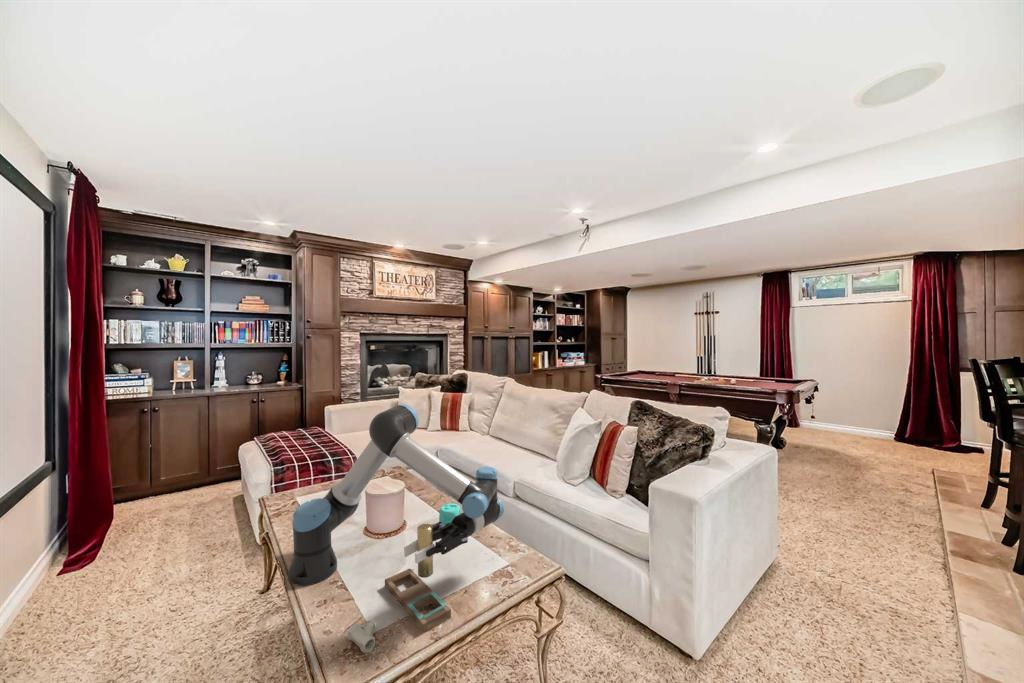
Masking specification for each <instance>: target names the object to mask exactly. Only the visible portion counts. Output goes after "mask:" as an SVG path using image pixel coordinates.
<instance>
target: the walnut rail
mask: <svg viewBox="0 0 1024 683" xmlns="http://www.w3.org/2000/svg"><path fill="white" fill-rule="evenodd" d="M409 582H411V583H412V584H413V586H410V587H408V588H406V589H403V590H402V591H401V590H400V589H399V588H398V587H400V586H402V585H404V584H407V583H409ZM384 588H385V589H386V590H387V591H388V592H389V594H390V595H391V596H392V597H393V598H394V600H395V601H396V602H397V603H398V604H399V606H400V607H401V608H402V609H403V611H404V612H405V613H406V614H407V615H408V617H409V618H410V619H411V620H412V621H413V622H414V624H415V625H416V626H417V627H418V628H419V630H420V631H421V633H423V634H424V633H426V632H427V631H429V630H431V629H433V628H435V627H437V626H438V625H440V624H442V623H444V622H445V621H447V620H449V619H451V618H452V609H451V608H450V607H449V606H448V605H447V603H446V602H445V601H443V599H442V598H441V597H440V596H439V595H437V593H436V592H435V591H434V590H432V589H431V588H430V586H428V584H426V583H425V581H424V580H422V579H421V577H419V576H418V574H417V573H416V572H415V571H413V570H412V568H407V569H404V570H403V571H400V572H398V573H396V574H394V575H393V574H392V576H389V577H386V578H385V579H384ZM430 604H432V605H433V606H434V607H435V609H433V610H431V611H429V612H427V613H426V614H424V615H422V614H421V612H420V611H419V610H420V609H422V608H425V607H426V606H429V605H430Z"/></svg>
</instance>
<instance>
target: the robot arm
mask: <svg viewBox="0 0 1024 683" xmlns="http://www.w3.org/2000/svg"><path fill="white" fill-rule="evenodd" d="M419 420H420V419H419V415H418V413H417V412H416V410H415V409H414V408H413V407H412V406H410V405H407V404H398V405H394V406H393V407H391V408H388V409H387V410H384V411H382V412H379V413H378V414H377V415H375V416H374V417H373V418H372V420H371V422H370V423H369V428H368V430H369V437H370V441H369V442H368V444H367V445H366V446H365V448H364V449H363V451H362V452H361V454H360V455H359V456H358V457H357V459H356V460H355V462H354V463H353V464H352V466H351V467H350V469H349V470H348V471H347V473H346V474H345V476H344V477H343V478H342V479H341V480H340V481H339V480H338V481H337V482H335V483H334V484H333V485H332V486H331V488H330V489H329V491H328V492H327V494H326V495H325V496H324V497H322V498H314V499H311V500H310V501H305V502H303V503H301V504H300V505H298V506H297V508H296V509H295V510H294V512H293V517H292V519H293V520H292V534H293V535H292V536H293V537H292V538H293V556H292V559H291V562H290V565H289V569H288V581H289V582H290V583H291V584H293V585H296V586H310V585H313V584H317V583H319V582H323V581H325V580H326V579H328V578H330V577H331V576H332V575H333V574H335V572H336V571H337V568H338V559H337V556H336V554H335V551H334V548H333V546H332V532H333V531H335V529H337V528H338V527H339V526H340V525H341V524H342V523H344V522H345V521H346V520H348V519H349V518H350V517H352V516H353V515H354V514H355V513H356V511H357V509H358V508H359V506H360V501H361V500H362V492H363V491H364V490H365V488H366V487H367V486H368V484H369V483H370V482H371V480H372V479H373V478H374V476H375V475H376V473H377V472H378V470H380V468H381V467H382V465H383V464H384V462H385V461H386V460H387V458H388V457H389V458H391V459H392V458H396V459H397V460H398V461H400V462H401V463H403V464H405V465H406V466H407V467H408V468H410V469H411V470H412V471H414V472H416V473H417V474H418V475H419V476H421V477H422V478H424V479H426V480H427V481H428V482H430V483H431V484H433V485H434V486H435V487H437V488H438V489H439V490H441V491H442V492H444V493H445V494H446V495H448V496H449V497H450V498H452V499H454V500H455V501H456V502H458V503H459V504H460V505H461V509H462V510H461V511H462V512H461V514H459V515H457V516H456V517H454V519H453V520H452V522H451V523H447V524H446V525H443V524H442V522H439V521H438V522H437V523H436V524H435V525H432V533H433V542H434V543H435V544H434V543H433V544H431V545H429V546H427V547H425V548H424V549H422V550H420V551H418V539H416V540H415V541H412V542H411V543H409V544H407V545H405V546H404V547H403V550H404V551H403V554H404V557H405V558H407V557H409V556H410V555H413V554H414V563H415V564H418V563H419V562H420V561H422V560H424V559H425V558H427V557H430V556H432V555H433V556H434V555H436V554H441V555H445V554H448V553H449V552H451V551H452V550H455V549H456V548H458V547H459V546H461V545H464V544H467V543H468V539H469V537H471V536H472V535H473V534H475V533H477V532H479V531H481V530H482V529H483V528H486V527H487V526H489V525H491V524H493V523H495V522H497V521H498V519H500V518H501V517H502V516H504V512H505V508H504V505H503V502H502V500H501V499H500V498H499V497H498V479H499V477H498V471H497V469H496V468H494V467H493V466H482V467H479V468H477V470H476V472H475V482H473V481H471V480H470V479H469V478H467V477H466V476H464V474H461V472H459V471H458V470H456V469H454V468H453V467H452V466H451V465H449V464H448V463H446V462H445V461H444V460H442V459H441V458H440V457H438V456H437V455H435V454H433V453H432V452H431V451H429V450H428V449H426V448H425V447H424V446H422V445H421V444H419V443H418V442H417V441H416V440H414V439H412V438H411V437H410V435H411V434H413V433H414V432H415V431H416V430H417V428H418V426H419V422H420V421H419Z"/></svg>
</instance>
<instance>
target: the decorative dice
mask: <svg viewBox="0 0 1024 683" xmlns="http://www.w3.org/2000/svg"><path fill="white" fill-rule="evenodd" d="M461 509H462V507H461V506H460V505H458V504H457V503H446V504H444V505H442V506H441V507H440V509H439V514H438V515H439V517H438V522H442V524H443V525H446V524H447V523H451V522H452V520H453V519H454V517H456V516H457V515H459V514H461V513H462V510H461Z"/></svg>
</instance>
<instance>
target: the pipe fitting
mask: <svg viewBox="0 0 1024 683" xmlns="http://www.w3.org/2000/svg"><path fill="white" fill-rule="evenodd" d="M376 626H377V624H376V623H375V621H373V620H367V621H365V622H364V624H363V626H362V625H361V624H359V623H354V624H352V625H351V626H350V627H349V629H348V630H347V639H348V640H349V641H352V642H353V643H354V644H355V645H356V646H358V648H359V649H360V651H361V652H362V653H363V654H369V653H370V652H371V651H372V650H373V649H374V647H375V645H376V637H374V633H375V630H376Z"/></svg>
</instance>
